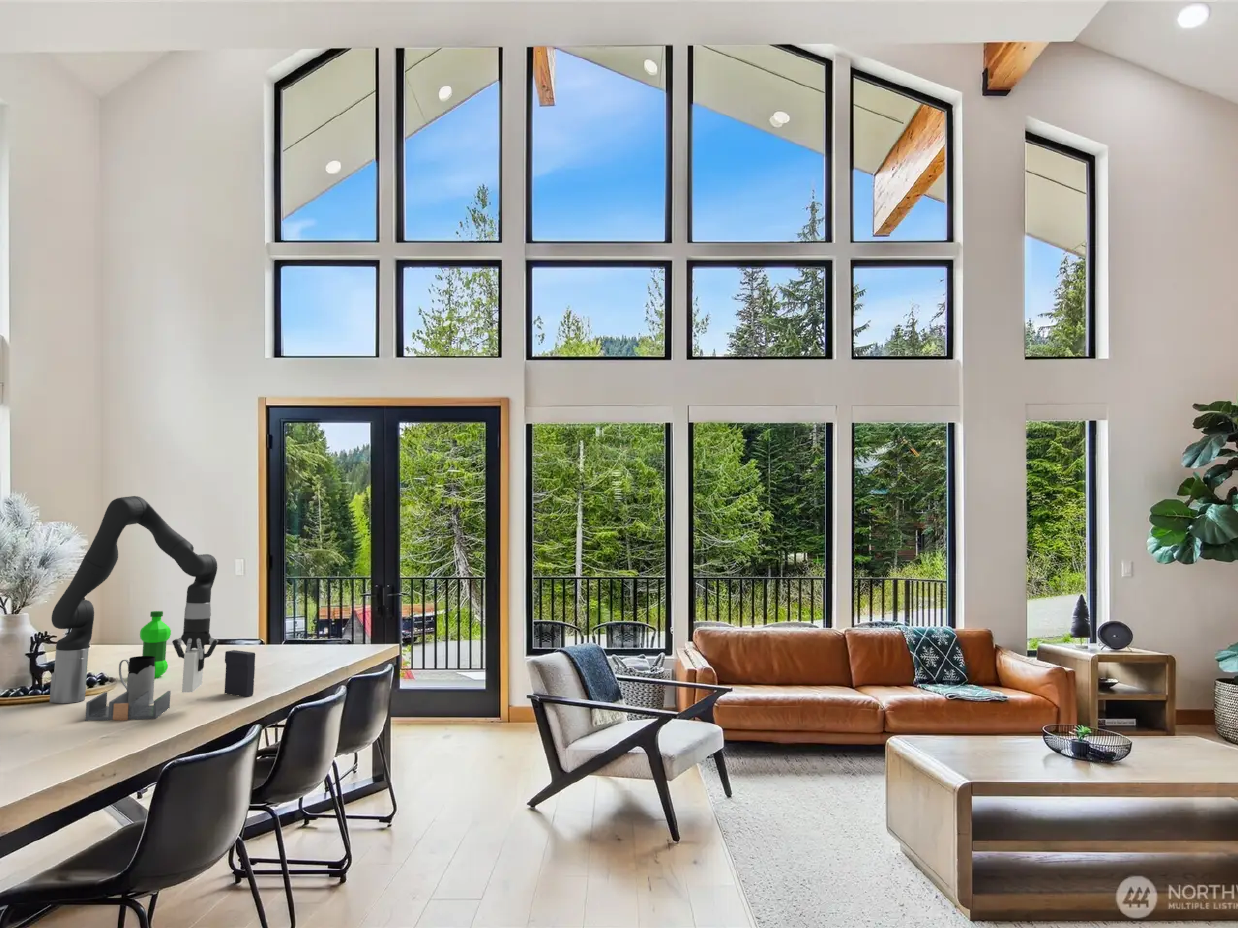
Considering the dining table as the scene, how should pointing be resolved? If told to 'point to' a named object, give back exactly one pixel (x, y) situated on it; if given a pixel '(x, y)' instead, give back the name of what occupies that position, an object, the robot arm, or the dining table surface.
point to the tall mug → (139, 677)
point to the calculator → (239, 673)
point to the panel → (191, 671)
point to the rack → (126, 707)
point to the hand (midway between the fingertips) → (193, 670)
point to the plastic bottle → (156, 641)
